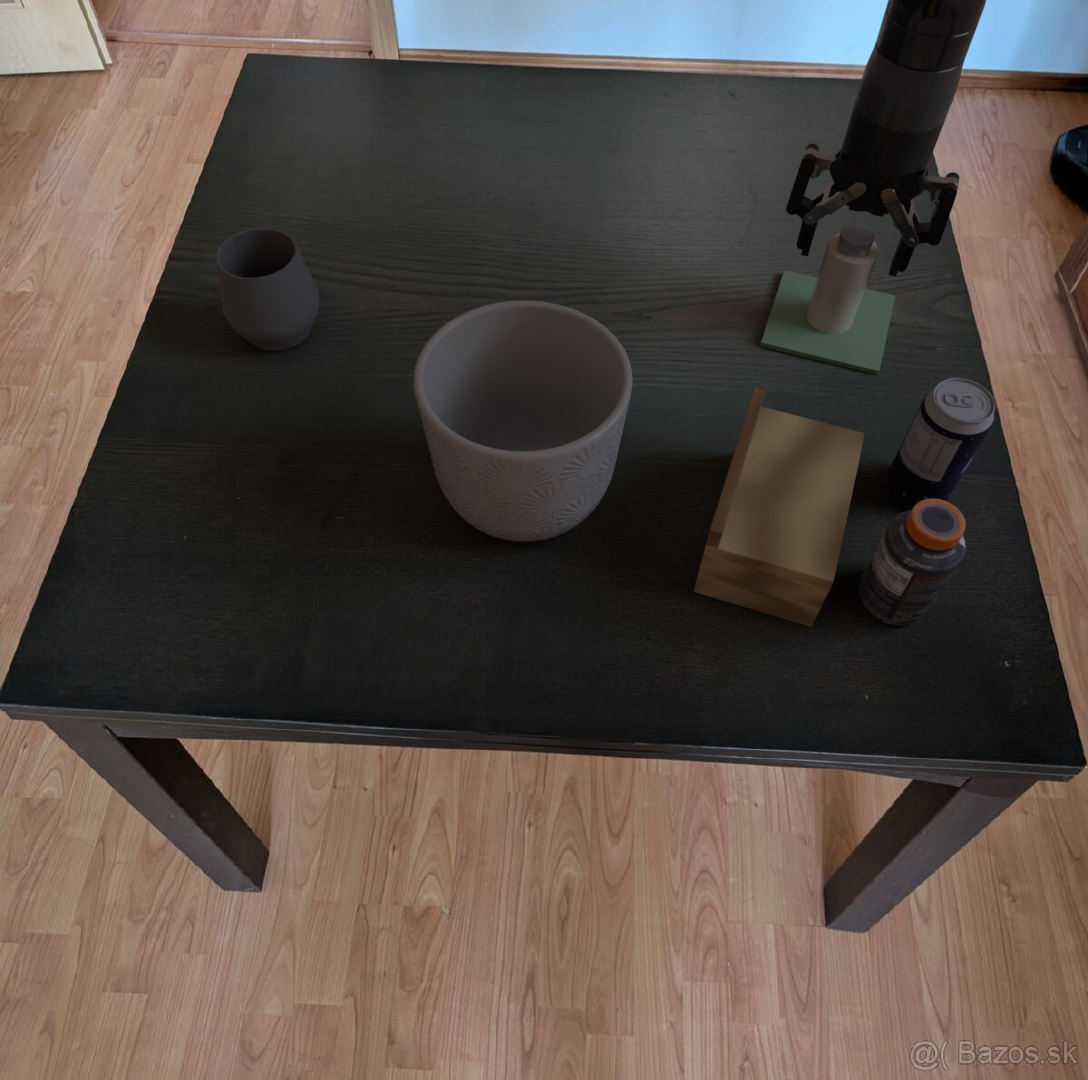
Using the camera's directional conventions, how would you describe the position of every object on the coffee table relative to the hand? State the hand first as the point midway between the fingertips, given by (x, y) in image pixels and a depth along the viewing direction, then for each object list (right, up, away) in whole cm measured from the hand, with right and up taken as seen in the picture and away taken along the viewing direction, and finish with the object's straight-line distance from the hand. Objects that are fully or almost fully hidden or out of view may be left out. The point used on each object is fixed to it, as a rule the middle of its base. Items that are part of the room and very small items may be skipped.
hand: (849, 260), depth 91 cm
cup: (-57, -6, +5) cm, 58 cm away
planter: (-32, -23, -7) cm, 40 cm away
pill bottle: (0, -32, -13) cm, 35 cm away
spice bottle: (0, -4, +6) cm, 7 cm away
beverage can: (+4, -23, -6) cm, 24 cm away
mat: (0, -5, +7) cm, 8 cm away
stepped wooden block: (-10, -27, -9) cm, 30 cm away
